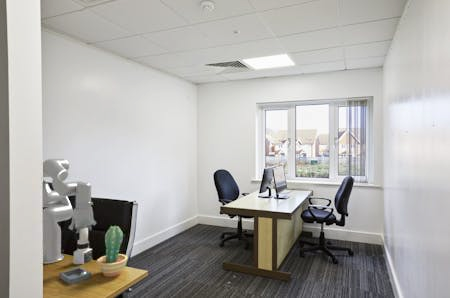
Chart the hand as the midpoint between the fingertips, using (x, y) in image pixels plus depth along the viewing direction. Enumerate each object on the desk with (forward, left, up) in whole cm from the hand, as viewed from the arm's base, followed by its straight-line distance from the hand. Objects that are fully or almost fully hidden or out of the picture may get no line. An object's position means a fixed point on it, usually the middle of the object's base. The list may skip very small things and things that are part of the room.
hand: (82, 238), depth 159 cm
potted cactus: (+18, +7, -17) cm, 26 cm away
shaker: (0, 0, -3) cm, 3 cm away
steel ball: (+13, -5, -17) cm, 22 cm away
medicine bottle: (-10, +5, -17) cm, 21 cm away
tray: (+9, -8, -17) cm, 21 cm away
